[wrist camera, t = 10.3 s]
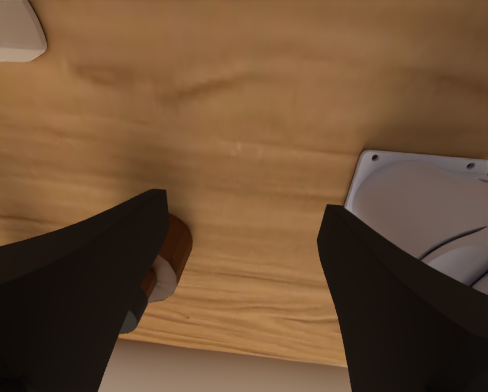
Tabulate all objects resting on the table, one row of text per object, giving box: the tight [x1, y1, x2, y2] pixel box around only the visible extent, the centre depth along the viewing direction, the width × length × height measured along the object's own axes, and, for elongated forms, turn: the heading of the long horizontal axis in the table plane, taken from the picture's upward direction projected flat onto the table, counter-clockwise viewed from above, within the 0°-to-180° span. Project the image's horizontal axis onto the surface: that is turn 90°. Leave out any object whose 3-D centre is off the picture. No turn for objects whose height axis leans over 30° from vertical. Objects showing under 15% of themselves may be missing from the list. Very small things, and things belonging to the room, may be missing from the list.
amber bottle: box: [140, 214, 192, 303], centre depth 21 cm, size 7×7×7 cm
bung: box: [119, 287, 148, 334], centre depth 18 cm, size 4×4×3 cm
